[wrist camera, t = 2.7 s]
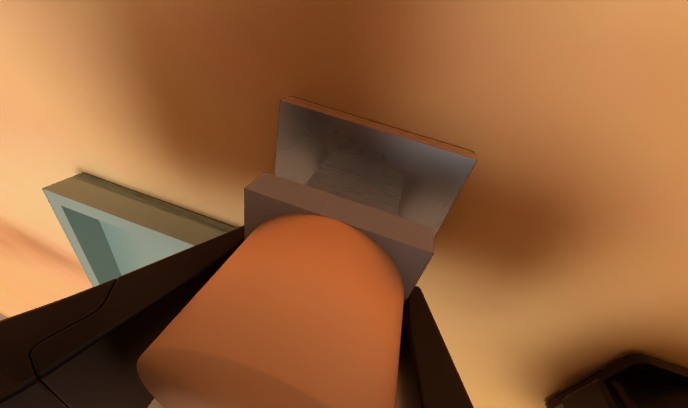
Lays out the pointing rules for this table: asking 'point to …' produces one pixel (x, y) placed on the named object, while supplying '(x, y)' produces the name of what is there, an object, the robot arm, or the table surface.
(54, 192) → the bin
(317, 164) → the stud fixture
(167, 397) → the tan cylindrical plug
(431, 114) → the table surface
